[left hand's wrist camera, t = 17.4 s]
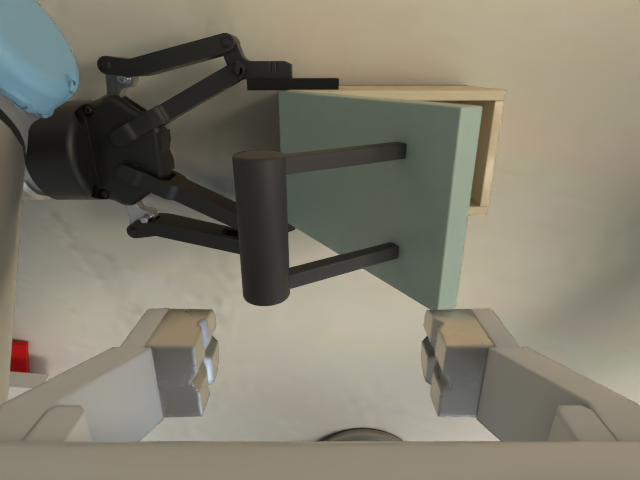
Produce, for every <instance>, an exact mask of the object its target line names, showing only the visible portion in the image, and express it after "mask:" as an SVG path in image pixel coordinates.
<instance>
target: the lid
mask: <svg viewBox="0 0 640 480" xmlns="http://www.w3.org/2000/svg"><path fill="white" fill-rule="evenodd" d="M278 93H279V122H280V151H281V152H279V151H273V150H251V151H244V152H239V153H236V154H234V155H233V169H234V182H235V195H236V208H237V222H238V235H239V248H240V261H241V274H242V287H243V297H244V299H245V300H246V301H247V302H248V303H250V304H253V305H258V306H271V305H276V304H279V303H281V302H283V301H285V300H286V299H287V298H288V296H289V294H290V289H291V288H295V287H298V286H302V285H306V284H309V283H313V282H316V281H320V280H323V279H327V278H330V277H334V276H337V275H341V274H344V273H348V272H351V271H355V270H358V269H362V268H363V269H365V270H366V271H368V272H369V273H371V274H373V275H374V276H376V277H378V278H379V279H381V280H383V281H384V282H386V283H388V284H389V285H391V286H392V287H394V288H396V289H397V290H399V291H401V292H402V293H404V294H406V295H407V296H409V297H411V298H412V299H414V300H416V301H417V302H419V303H420V304H422V305H424V306H425V307H427V308H429V309H430V310H448V309H451V308H453V307H455V306H456V302H457V294H458V287H459V279H460V272H461V264H462V257H463V249H464V242H465V234H466V227H467V219H468V212H469V205H470V197H471V190H472V182H473V175H474V167H475V160H476V152H477V145H478V137H479V130H480V122H481V115H482V106H477V105H465V104H453V103H440V102H428V101H416V100H404V99H391V98H379V97H367V96H355V95H342V94H330V93H318V92H306V91H279V92H278ZM288 223H289V224H290V225H292V226H294V227H295V228H297V229H299V230H300V231H302V232H304V233H305V234H307V235H309V236H310V237H312V238H313V239H315V240H317V241H318V242H320V243H322V244H323V245H325V246H327V247H328V248H330V249H332V250H333V251H335V252H337V253H338V254H340V255H338V256H334V257H330V258H326V259H322V260H318V261H314V262H310V263H306V264H303V265H299V266H295V267H291V268H289V247H288Z"/></svg>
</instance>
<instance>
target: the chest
mask: <svg viewBox="0 0 640 480" xmlns="http://www.w3.org/2000/svg"><path fill="white" fill-rule="evenodd" d="M288 91H306V92H318V93H330V94H342V95H355V96H367V97H379V98H391V99H404V100H416V101H428V102H440V103H453V104H465V105H477V106H482V115H481V122H480V130H479V137H478V145H477V152H476V160H475V167H474V175H473V182H472V190H471V197H470V205H469V212H468V215H487V213H488V206H489V199H490V193H491V186H492V179H493V173H494V166H495V159H496V153H497V146H498V140H499V133H500V126H501V120H502V113H503V107H504V101H503V100H505V94H506V90H501V89H492V88H483V87H474V86H467V85H339V90H288Z"/></svg>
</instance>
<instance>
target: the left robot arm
mask: <svg viewBox="0 0 640 480" xmlns="http://www.w3.org/2000/svg"><path fill="white" fill-rule="evenodd" d="M215 328H216V319H215V313H214V311H213V310H209V309H169V308H166V309H148V310H147V311H146V312H145V313H144V315H143V316H142V317H141V319H140V320H139V321H138V323H137V324H136V326H135V327H134V328H133V330H132V331H131V332H130V334H129V335H128V337H127V338H126V339H125V341H124V342H123V343H122V345H121V346H120V347H113V348H111V349H109V350H107V351H105V352H103V353H101V354H99V355H97V356H95V357H93V358H91V359H89V360H87V361H85V362H83V363H81V364H79V365H77V366H75V367H73V368H71V369H69V370H67V371H65V372H63V373H62V374H60V375H58V376H56V377H54V378H52V379H50V380H48V381H46V382H44V383H42V384H40V385H38V386H36V387H34V388H32V389H30V390H28V391H26V392H24V393H22V394H20V395H18V396H16V397H14V398H12V399H10V400H8V401H6V402H4V403H3V404H2V405H1V406H0V480H640V405H639V404H637V403H635V402H633V401H631V400H629V399H627V398H625V397H623V396H621V395H620V394H618V393H616V392H614V391H612V390H610V389H608V388H606V387H604V386H602V385H600V384H598V383H596V382H594V381H592V380H590V379H588V378H586V377H584V376H582V375H580V374H578V373H576V372H574V371H572V370H570V369H569V368H567V367H565V366H563V365H561V364H559V363H557V362H555V361H553V360H551V359H549V358H547V357H545V356H543V355H541V354H539V353H537V352H535V351H533V350H531V349H529V348H527V347H520V346H519V345H518V343H517V342H516V341H515V339H514V338H513V337H512V335H511V334H510V333H509V331H508V330H507V328H506V327H505V326H504V324H503V323H502V322H501V320H500V319H499V318H498V316H497V315H496V314H495V312H494V311H493V310H492V309H490V308H484V309H448V310H426V314H425V318H424V328H425V331H426V333H427V337H426V338H425V339H424V340H423V341H422V348H421V363H422V370H423V374H424V377H425V381H426V382H428V383H429V384H430V385H431V392H430V395H431V398H432V401H433V404H434V407H435V410H436V412H437V415H438V416H447V417H477V418H476V419H477V420H478V421H479V422H480V423H481V424H482V425H484V426H485V427H486V428H487V429H488V430H489V431H490V432H491V433H492V434H493V435H495V436H496V437H497V438H498V439H499V440H500V441H299V442H248V441H140V440H141V439H142V438H143V437H145V436H146V435H147V434H148V433H149V432H150V431H151V430H152V429H153V428H154V427H156V426H157V425H158V424H159V423H160V422H161V421H162V420H163V417H192V416H203V413H204V410H205V407H206V404H207V401H208V398H209V395H210V392H209V385H210V384H211V383H212V382H214V381H215V377H216V374H217V370H218V363H219V346H218V341H217V340H216V339H215V338H214V337H213V333H214V331H215Z"/></svg>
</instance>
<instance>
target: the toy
mask: <svg viewBox="0 0 640 480" xmlns="http://www.w3.org/2000/svg"><path fill="white" fill-rule="evenodd" d="M48 380H49V375H45V374H34V373H29V362H28V342H16V341H12V349H11V363H10V376H9V390H8V400H10V399H12V398H14V397H16V396H18V395H20V394H22V393H24V392H26V391H28V390H30V389H32V388H34V387H36V386H38V385H40V384H42V383H44V382H46V381H48Z"/></svg>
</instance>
